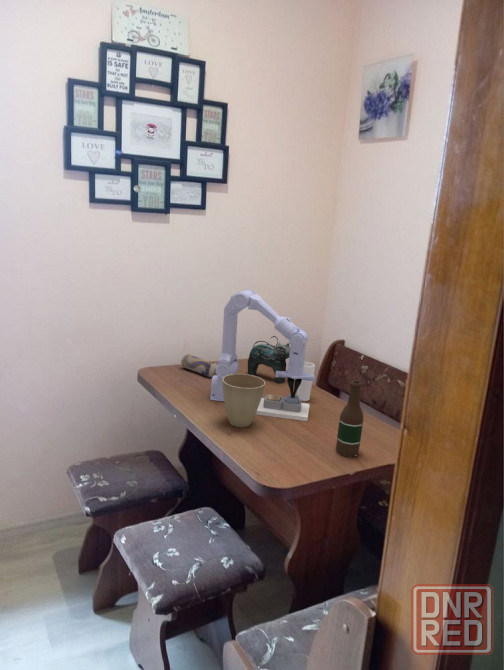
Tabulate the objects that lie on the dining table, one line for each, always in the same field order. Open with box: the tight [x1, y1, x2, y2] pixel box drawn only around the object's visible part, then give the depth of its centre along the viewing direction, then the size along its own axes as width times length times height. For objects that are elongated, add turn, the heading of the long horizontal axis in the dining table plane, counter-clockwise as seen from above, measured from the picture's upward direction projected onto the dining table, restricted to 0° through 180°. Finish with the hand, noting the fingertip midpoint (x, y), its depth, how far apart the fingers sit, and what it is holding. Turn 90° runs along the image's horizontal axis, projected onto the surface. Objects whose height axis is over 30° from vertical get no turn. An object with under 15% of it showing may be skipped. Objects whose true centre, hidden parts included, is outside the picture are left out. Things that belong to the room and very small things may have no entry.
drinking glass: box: [296, 361, 316, 402], centre depth 216 cm, size 7×7×15 cm
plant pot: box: [222, 373, 266, 428], centre depth 188 cm, size 15×15×16 cm
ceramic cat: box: [247, 335, 291, 385], centre depth 237 cm, size 20×6×20 cm, turn 58°
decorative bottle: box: [180, 353, 218, 379], centre depth 238 cm, size 26×8×7 cm, turn 51°
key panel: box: [255, 394, 310, 422], centre depth 204 cm, size 20×14×4 cm
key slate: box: [286, 393, 299, 404], centre depth 203 cm, size 4×4×2 cm
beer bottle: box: [335, 380, 364, 457], centre depth 171 cm, size 8×8×24 cm
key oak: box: [268, 394, 281, 402], centre depth 204 cm, size 4×4×2 cm
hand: (292, 397), depth 202 cm, fingers closed, pressing on key slate
